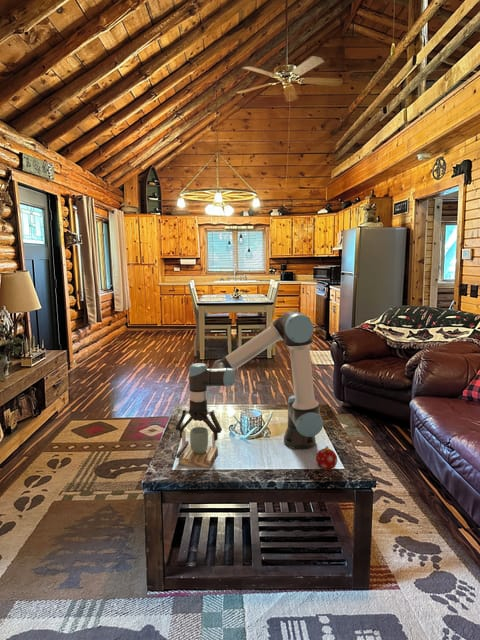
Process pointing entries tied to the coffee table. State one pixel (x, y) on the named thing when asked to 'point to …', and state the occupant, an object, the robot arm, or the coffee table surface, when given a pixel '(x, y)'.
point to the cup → (199, 440)
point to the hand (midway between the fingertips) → (198, 446)
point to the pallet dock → (196, 456)
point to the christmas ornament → (326, 459)
